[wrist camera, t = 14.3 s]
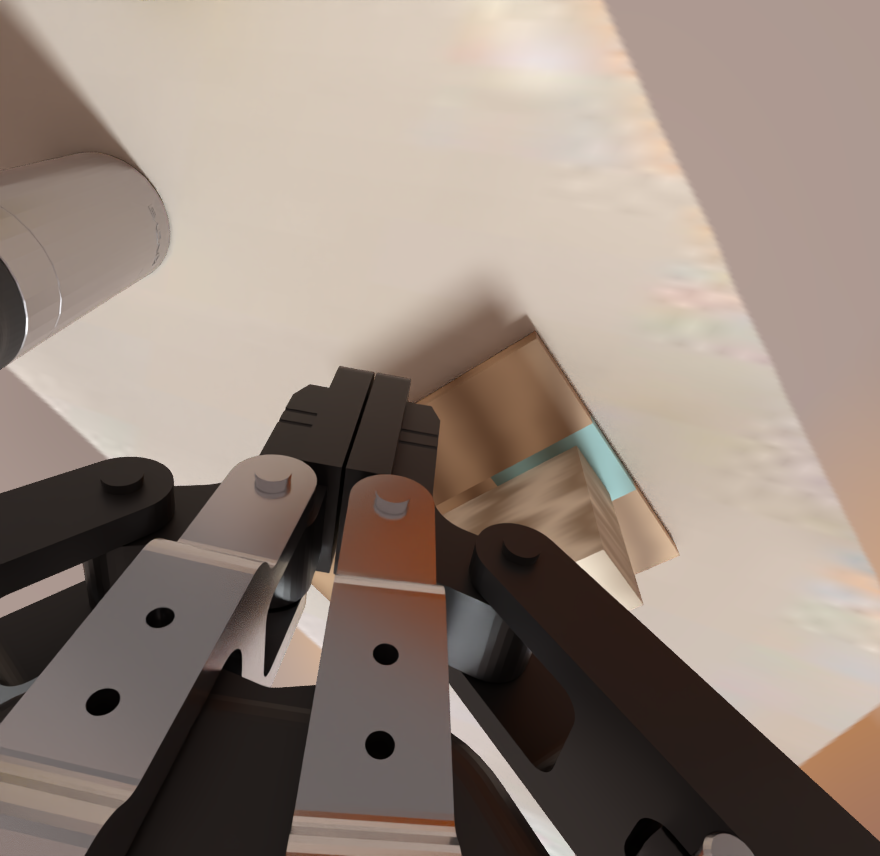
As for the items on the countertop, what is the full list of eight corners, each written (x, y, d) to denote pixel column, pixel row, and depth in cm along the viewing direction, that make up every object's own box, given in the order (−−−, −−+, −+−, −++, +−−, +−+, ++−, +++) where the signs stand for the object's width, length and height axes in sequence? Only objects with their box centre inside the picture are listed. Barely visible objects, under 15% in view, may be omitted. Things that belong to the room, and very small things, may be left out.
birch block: (476, 557, 59) (475, 673, 48) (440, 515, 57) (431, 626, 46) (609, 493, 55) (643, 604, 43) (576, 445, 52) (603, 549, 41)
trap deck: (406, 661, 69) (405, 673, 68) (245, 505, 59) (240, 515, 58) (675, 544, 59) (679, 555, 58) (535, 330, 49) (536, 338, 48)
